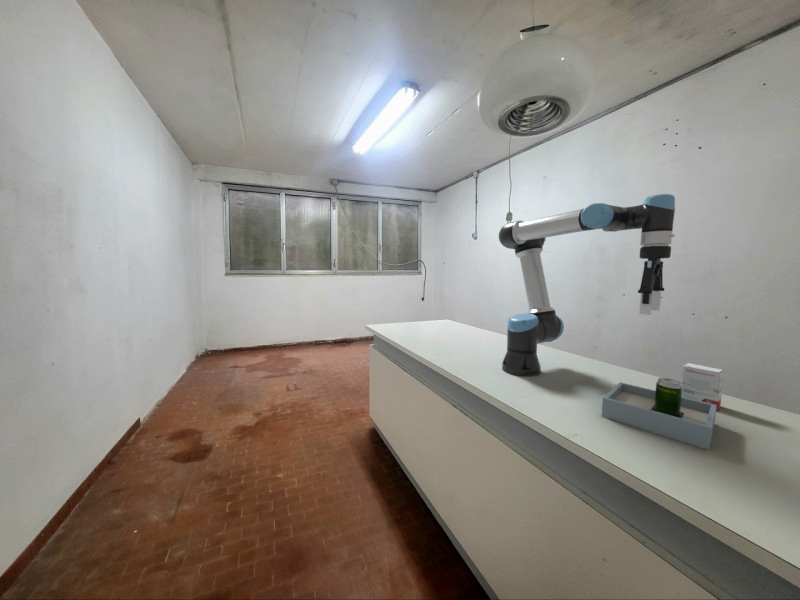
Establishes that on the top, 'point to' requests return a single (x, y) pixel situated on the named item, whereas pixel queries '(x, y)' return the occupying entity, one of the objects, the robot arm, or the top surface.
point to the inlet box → (661, 415)
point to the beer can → (668, 397)
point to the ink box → (702, 383)
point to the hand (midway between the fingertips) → (649, 312)
